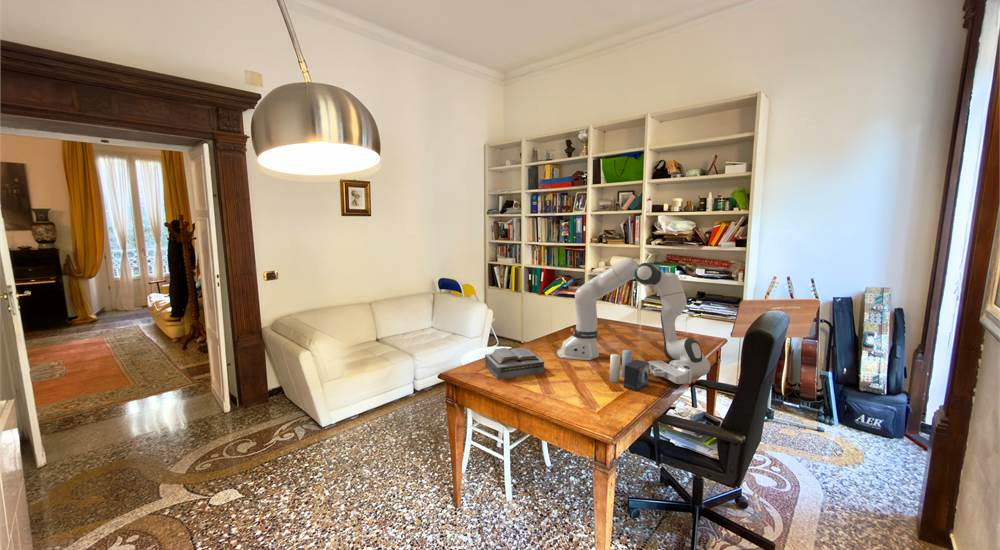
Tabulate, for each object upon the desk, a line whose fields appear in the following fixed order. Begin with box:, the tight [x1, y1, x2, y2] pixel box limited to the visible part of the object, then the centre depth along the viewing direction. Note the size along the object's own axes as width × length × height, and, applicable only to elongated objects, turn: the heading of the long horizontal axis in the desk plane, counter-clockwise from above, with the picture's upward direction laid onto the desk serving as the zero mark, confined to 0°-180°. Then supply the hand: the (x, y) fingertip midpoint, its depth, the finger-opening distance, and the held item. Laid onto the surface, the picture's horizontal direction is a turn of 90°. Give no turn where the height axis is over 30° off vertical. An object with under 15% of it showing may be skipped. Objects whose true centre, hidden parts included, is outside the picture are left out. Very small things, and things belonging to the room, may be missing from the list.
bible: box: [484, 347, 545, 381], centre depth 196 cm, size 23×27×10 cm
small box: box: [623, 359, 650, 392], centre depth 175 cm, size 11×6×10 cm, turn 131°
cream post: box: [609, 353, 621, 384], centre depth 182 cm, size 4×4×12 cm
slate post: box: [621, 349, 633, 378], centre depth 187 cm, size 4×4×12 cm
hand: (652, 373), depth 178 cm, fingers closed
